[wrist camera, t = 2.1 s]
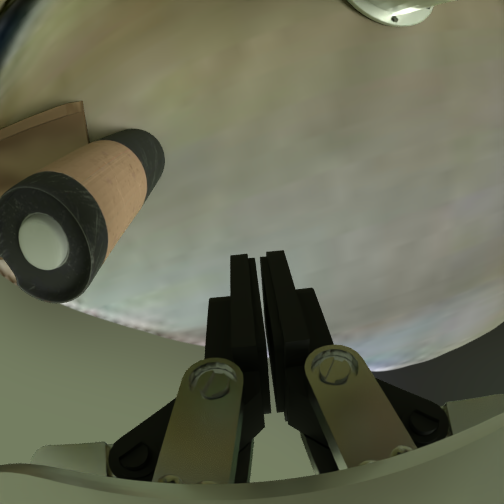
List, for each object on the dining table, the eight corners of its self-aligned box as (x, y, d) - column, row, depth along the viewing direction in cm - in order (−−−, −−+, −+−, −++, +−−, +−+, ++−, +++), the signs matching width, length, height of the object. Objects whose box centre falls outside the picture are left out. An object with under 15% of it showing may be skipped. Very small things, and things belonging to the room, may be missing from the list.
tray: (-29, 145, 27) (-47, 153, 24) (82, 100, 28) (65, 103, 24) (1, 247, 35) (-13, 261, 32) (110, 231, 35) (98, 247, 32)
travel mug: (176, 137, 31) (104, 205, 13) (157, 201, 34) (90, 322, 17) (111, 118, 29) (-12, 168, 12) (96, 182, 32) (-7, 281, 15)
